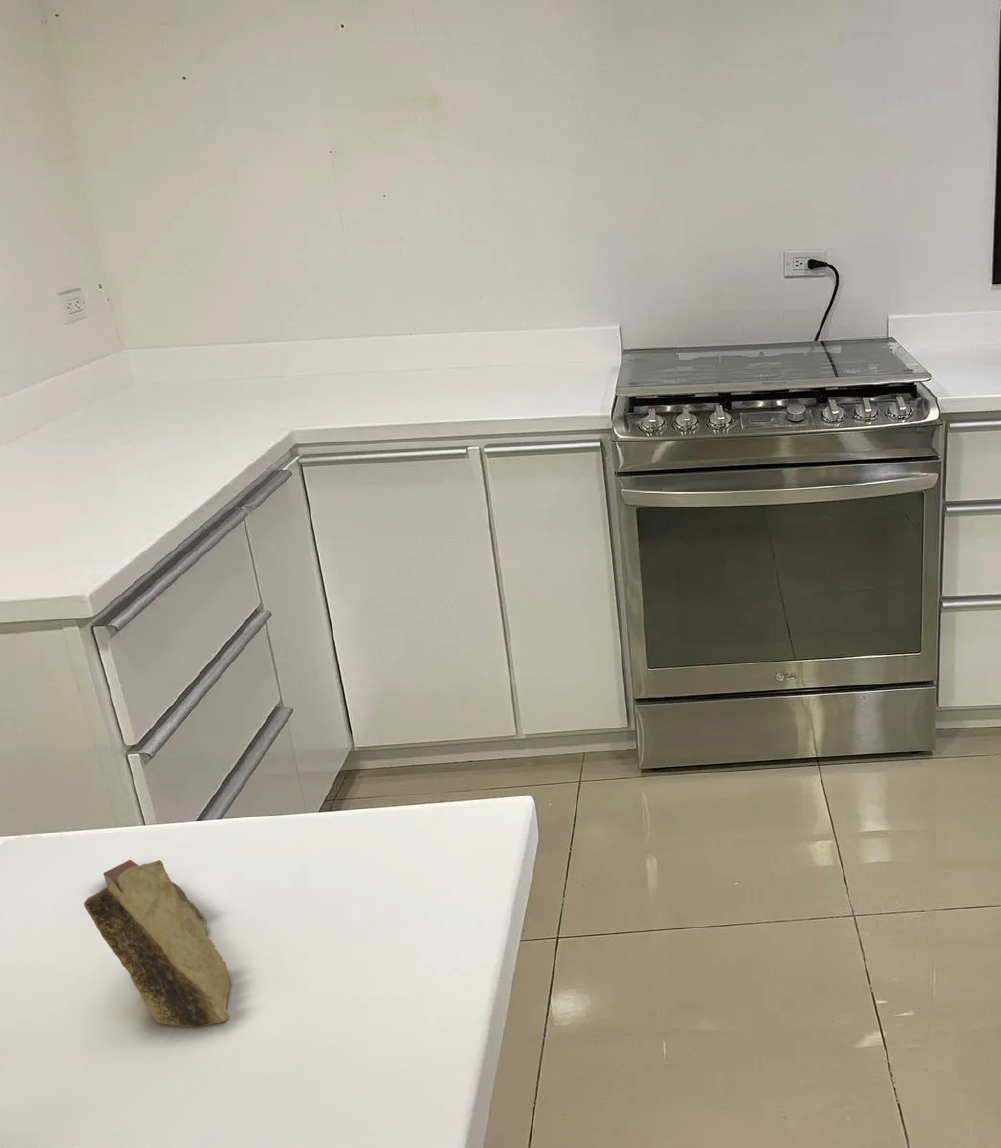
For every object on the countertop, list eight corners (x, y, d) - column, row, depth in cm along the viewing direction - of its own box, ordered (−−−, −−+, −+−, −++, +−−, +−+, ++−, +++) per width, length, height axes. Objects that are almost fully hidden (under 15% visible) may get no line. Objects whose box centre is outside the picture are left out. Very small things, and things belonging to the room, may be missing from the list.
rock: (130, 892, 78) (33, 982, 68) (183, 802, 76) (91, 882, 66) (267, 971, 79) (191, 1071, 69) (323, 885, 77) (253, 975, 67)
